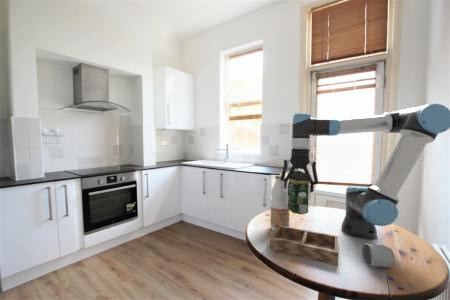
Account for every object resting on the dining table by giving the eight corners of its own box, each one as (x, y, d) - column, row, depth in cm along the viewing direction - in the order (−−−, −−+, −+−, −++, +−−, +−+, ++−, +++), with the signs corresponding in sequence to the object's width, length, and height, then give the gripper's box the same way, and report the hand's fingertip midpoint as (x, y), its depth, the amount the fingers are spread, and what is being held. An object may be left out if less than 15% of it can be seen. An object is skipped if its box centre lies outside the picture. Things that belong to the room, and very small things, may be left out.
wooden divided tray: (337, 247, 93) (338, 235, 93) (338, 265, 80) (338, 252, 80) (278, 235, 105) (278, 225, 105) (269, 249, 92) (270, 238, 91)
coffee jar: (285, 207, 104) (286, 169, 102) (301, 207, 104) (303, 169, 103) (292, 215, 94) (294, 172, 93) (310, 215, 94) (312, 172, 93)
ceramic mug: (396, 271, 76) (397, 250, 76) (371, 270, 77) (372, 249, 77) (378, 256, 87) (379, 237, 86) (357, 255, 88) (357, 236, 87)
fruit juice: (267, 230, 111) (267, 176, 110) (274, 224, 119) (275, 173, 117) (285, 234, 106) (285, 178, 104) (291, 228, 113) (292, 175, 112)
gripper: (327, 148, 95) (324, 199, 96) (278, 146, 106) (277, 192, 107) (325, 149, 89) (323, 203, 90) (274, 147, 99) (272, 195, 100)
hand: (298, 197), depth 98 cm, fingers closed on coffee jar, 9 cm apart
